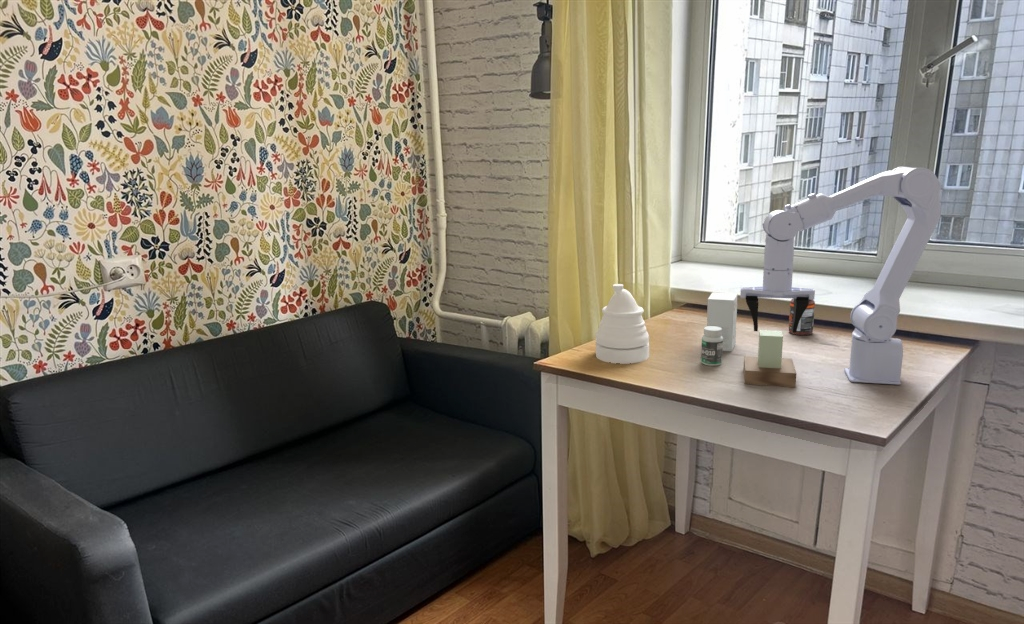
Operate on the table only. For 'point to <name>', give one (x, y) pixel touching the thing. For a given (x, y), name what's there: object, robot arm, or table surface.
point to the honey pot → (622, 330)
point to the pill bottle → (712, 346)
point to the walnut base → (769, 373)
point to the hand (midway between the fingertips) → (774, 330)
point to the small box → (723, 316)
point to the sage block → (770, 349)
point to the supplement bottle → (803, 319)
